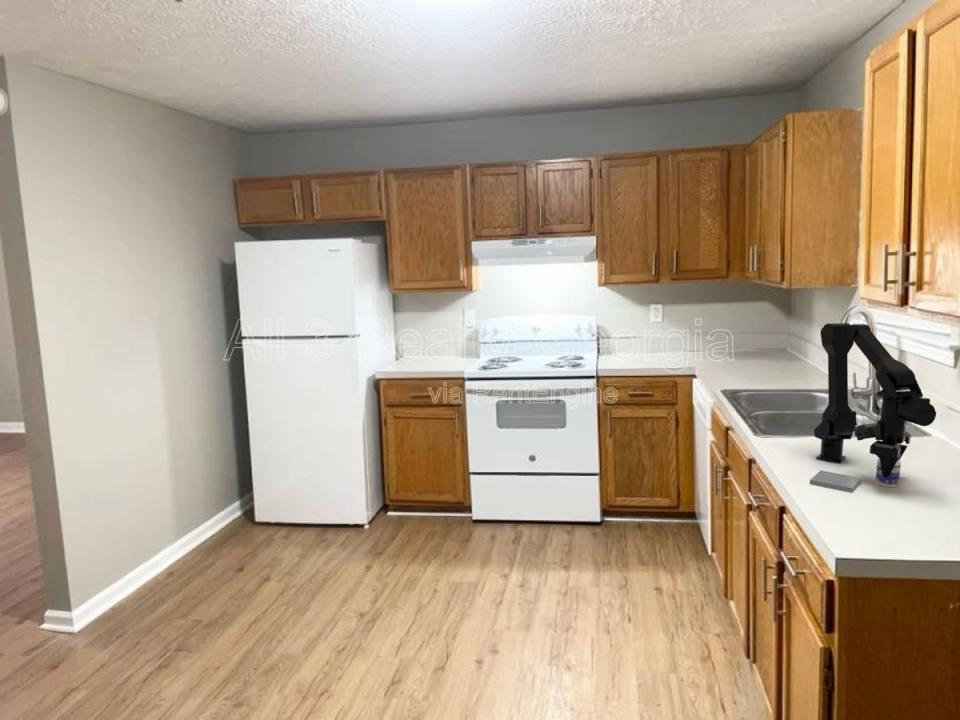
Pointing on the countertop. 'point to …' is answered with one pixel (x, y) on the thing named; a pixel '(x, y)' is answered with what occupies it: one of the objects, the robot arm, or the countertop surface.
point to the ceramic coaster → (835, 481)
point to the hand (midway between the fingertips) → (887, 474)
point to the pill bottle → (893, 477)
